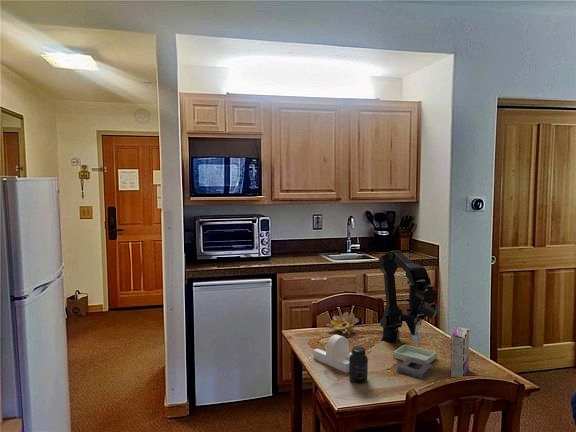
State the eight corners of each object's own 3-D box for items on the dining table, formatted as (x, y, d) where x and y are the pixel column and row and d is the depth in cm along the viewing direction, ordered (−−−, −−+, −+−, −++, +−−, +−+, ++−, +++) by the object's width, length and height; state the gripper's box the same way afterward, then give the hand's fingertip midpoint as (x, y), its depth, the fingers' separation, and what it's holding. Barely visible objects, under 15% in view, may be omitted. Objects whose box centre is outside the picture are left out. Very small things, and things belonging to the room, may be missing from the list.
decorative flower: (320, 325, 209) (325, 306, 209) (337, 326, 215) (341, 307, 215) (341, 336, 197) (346, 316, 197) (357, 337, 203) (362, 317, 203)
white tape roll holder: (362, 366, 167) (362, 339, 166) (346, 373, 161) (346, 345, 160) (329, 352, 181) (329, 327, 180) (313, 358, 174) (313, 332, 174)
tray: (393, 357, 175) (393, 351, 175) (404, 349, 183) (404, 344, 183) (425, 367, 166) (426, 360, 166) (436, 358, 174) (436, 352, 174)
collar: (397, 371, 162) (397, 366, 162) (408, 362, 170) (408, 358, 170) (422, 379, 156) (422, 373, 156) (432, 370, 163) (432, 365, 163)
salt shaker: (407, 340, 174) (407, 318, 173) (411, 337, 178) (412, 315, 177) (418, 343, 171) (418, 321, 170) (422, 340, 175) (423, 318, 174)
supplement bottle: (347, 376, 158) (347, 345, 157) (364, 375, 159) (365, 344, 158) (351, 384, 151) (351, 352, 150) (369, 384, 152) (370, 352, 151)
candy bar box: (455, 366, 167) (456, 326, 166) (468, 369, 164) (470, 328, 163) (449, 377, 157) (450, 334, 156) (463, 380, 155) (465, 337, 153)
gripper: (426, 305, 160) (425, 345, 162) (443, 295, 175) (442, 331, 176) (399, 300, 168) (398, 338, 169) (417, 291, 182) (416, 326, 183)
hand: (415, 333), depth 174 cm, fingers closed on salt shaker, 4 cm apart
